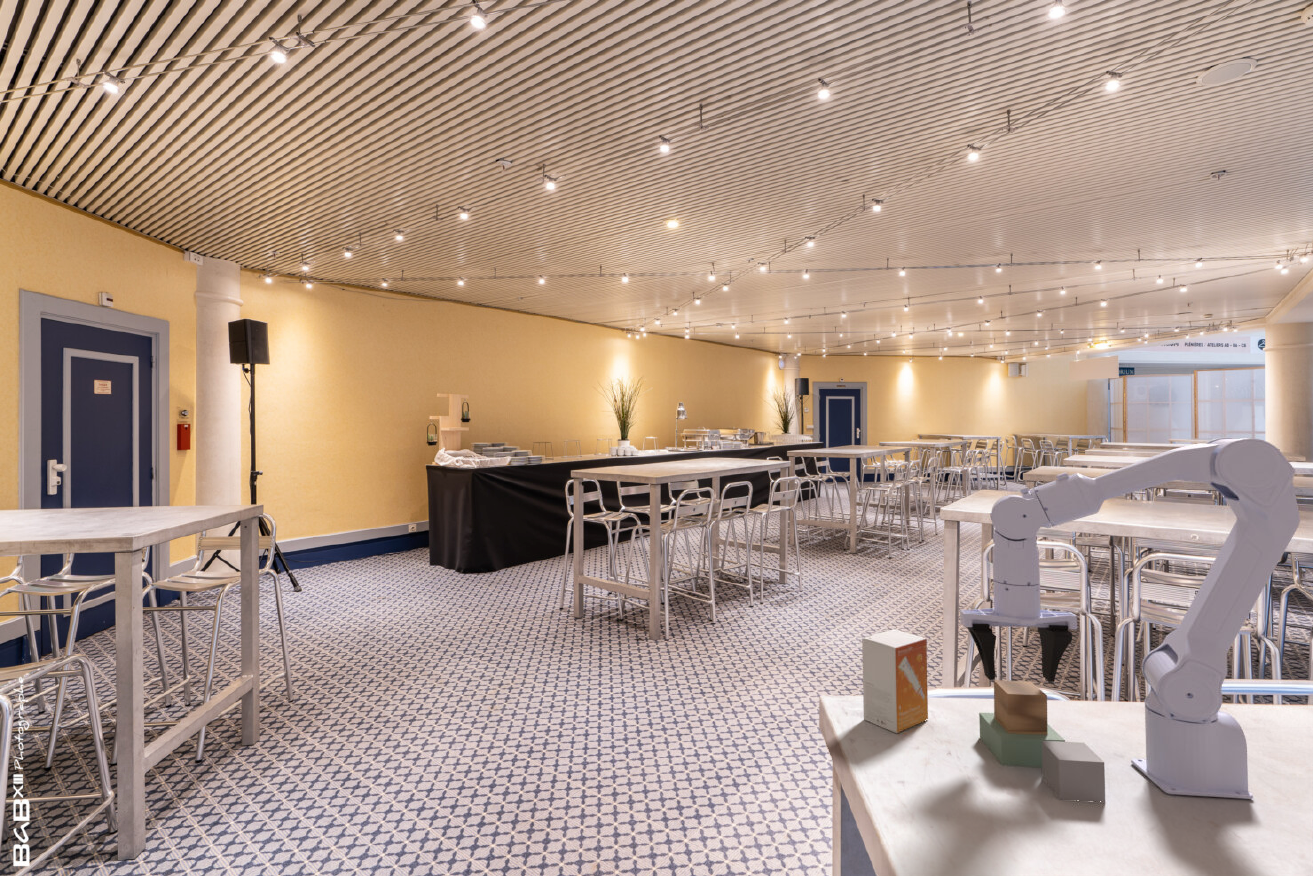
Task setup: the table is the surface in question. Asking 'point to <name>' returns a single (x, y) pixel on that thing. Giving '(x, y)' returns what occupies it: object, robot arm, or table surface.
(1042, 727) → the walnut cube
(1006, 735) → the green block
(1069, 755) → the grey cube
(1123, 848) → the table surface
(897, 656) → the small box
